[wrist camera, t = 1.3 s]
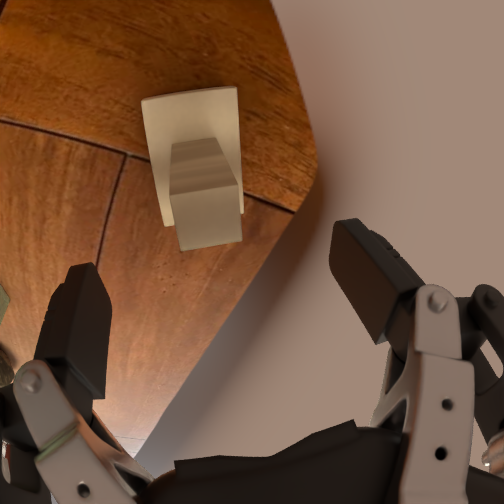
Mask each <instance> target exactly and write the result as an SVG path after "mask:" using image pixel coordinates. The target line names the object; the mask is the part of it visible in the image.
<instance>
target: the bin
mask: <svg viewBox="0 0 504 504" xmlns="http://www.w3.org/2000/svg"><path fill="white" fill-rule="evenodd" d="M9 302H10V298H9V297H8V295H7V294H6V292H5V291H4V289H3V288H2V286H1V284H0V325H1V322H2V319H3V317H4V314H5V312H6V309H7V307H8V304H9Z"/></svg>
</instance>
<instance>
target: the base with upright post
mask: <svg viewBox="0 0 504 504" xmlns="http://www.w3.org/2000/svg"><path fill="white" fill-rule="evenodd" d="M141 106H142V113H143V120H144V126H145V132H146V138H147V144H148V150H149V155H150V160H151V166H152V171H153V176H154V181H155V186H156V191H157V195H158V200H159V205H160V209H161V214H162V218H163V222H164V226H165V227H166V226H172V225H175V228H176V232H177V237H178V241H179V246H180V250H181V251H186V250H192V249H197V248H203V247H209V246H215V245H221V244H226V243H232V242H238V241H242V227H241V214H243V213H244V202H243V185H242V168H241V151H240V134H239V116H238V98H237V87H234V86H225V87H215V88H206V89H198V90H190V91H183V92H177V93H171V94H165V95H159V96H154V97H149V98H144V99H143V100H142V101H141Z"/></svg>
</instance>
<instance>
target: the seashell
mask: <svg viewBox="0 0 504 504" xmlns="http://www.w3.org/2000/svg"><path fill="white" fill-rule="evenodd" d="M14 376H15V374H14V371H13V368H12V364H11V362H10V360H9V358H8V357H7V356H6V355H5V353H4V352H3V351H2V350H1V349H0V388H1V387H4V386H7V385H9V384H10V383H11V382H12V380H13V379H14Z"/></svg>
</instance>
